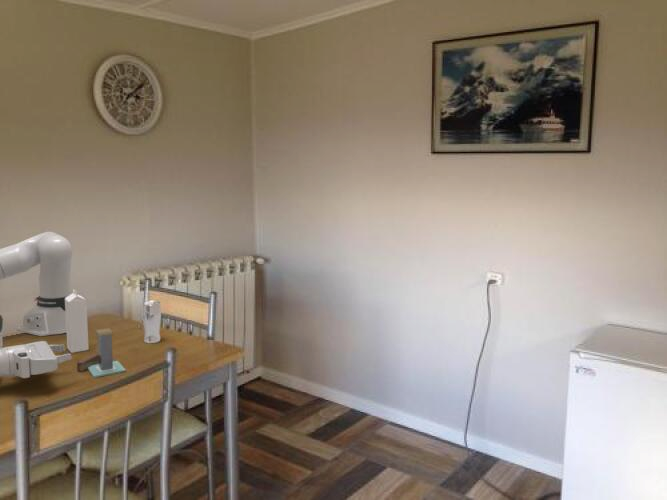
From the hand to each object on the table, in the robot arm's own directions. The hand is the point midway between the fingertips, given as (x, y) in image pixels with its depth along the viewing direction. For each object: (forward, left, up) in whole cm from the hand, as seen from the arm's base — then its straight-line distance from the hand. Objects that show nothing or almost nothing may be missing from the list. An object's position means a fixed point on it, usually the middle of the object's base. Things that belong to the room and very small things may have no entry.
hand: (67, 351), depth 185 cm
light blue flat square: (+7, +9, -9) cm, 14 cm away
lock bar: (+7, +9, -8) cm, 14 cm away
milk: (-15, +23, -9) cm, 29 cm away
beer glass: (+5, +40, -9) cm, 41 cm away
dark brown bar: (0, +11, -9) cm, 14 cm away
